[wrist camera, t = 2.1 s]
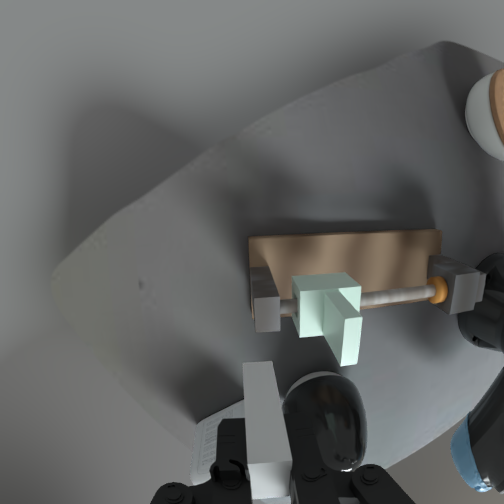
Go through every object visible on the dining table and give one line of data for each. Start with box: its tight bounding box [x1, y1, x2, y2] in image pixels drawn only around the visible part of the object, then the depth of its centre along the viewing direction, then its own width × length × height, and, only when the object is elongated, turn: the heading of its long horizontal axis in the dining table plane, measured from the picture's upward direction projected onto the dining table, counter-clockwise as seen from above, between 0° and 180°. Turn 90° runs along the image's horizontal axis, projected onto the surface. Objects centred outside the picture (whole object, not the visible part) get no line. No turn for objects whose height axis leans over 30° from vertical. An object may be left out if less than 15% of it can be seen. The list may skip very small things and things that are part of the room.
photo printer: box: [190, 400, 245, 485], centre depth 32 cm, size 10×4×12 cm, turn 126°
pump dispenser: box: [282, 371, 367, 471], centre depth 30 cm, size 10×10×15 cm
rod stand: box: [248, 229, 486, 333], centre depth 29 cm, size 24×9×11 cm, turn 93°
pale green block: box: [292, 272, 362, 366], centre depth 23 cm, size 5×4×9 cm
